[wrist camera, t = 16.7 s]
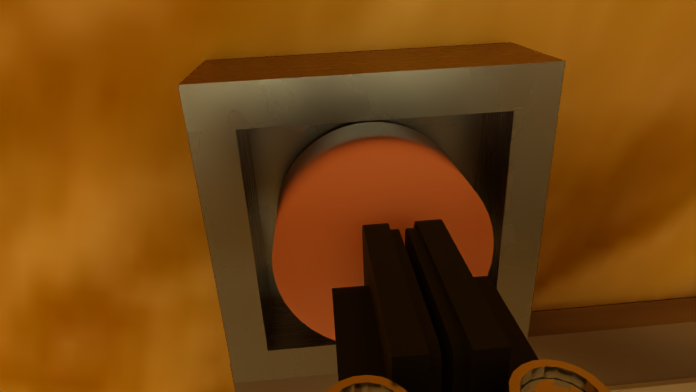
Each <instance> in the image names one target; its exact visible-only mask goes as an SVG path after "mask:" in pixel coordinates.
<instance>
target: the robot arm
mask: <svg viewBox="0 0 696 392" xmlns="http://www.w3.org/2000/svg"><path fill="white" fill-rule="evenodd" d="M362 241H363V267H364V286H353V287H340V288H332V297H333V311H334V326H335V340H336V354H337V368H338V383H336V384H335V385H333V386H332V387H330V388H329V389H328V390H327V391H326V392H611V391H610V390H609V389H608V388H607V387H606V386H605V385H604V384H603V383H602V382H601V381H599V380H598V379H597V378H596V377H595V376H594V375H592V374H591V373H589V372H587V371H585V370H583V369H582V368H580V367H578V366H575V365H572V364H569V363H566V362H563V361H557V360H549V359H543V360H539V359H538V357H537V356H536V354H535V352H534V351H533V349H532V347H531V346H530V344H529V342H528V341H527V339H526V337H525V336H524V334H523V332H522V330H521V329H520V327H519V325H518V324H517V322H516V320H515V319H514V317H513V315H512V314H511V312H510V310H509V309H508V307H507V305H506V304H505V302H504V300H503V299H502V297H501V295H500V294H499V292H498V290H497V289H496V287H495V285H494V284H493V282H492V281H491V279H490V278H489V277H487V276H479V277H473V276H472V274H471V272H470V270H469V268H468V266H467V265H466V263H465V261H464V259H463V257H462V255H461V254H460V252H459V250H458V248H457V246H456V244H455V243H454V241H453V239H452V237H451V235H450V233H449V232H448V230H447V228H446V226H445V224H444V222H443V221H442V219H436V220H422V221H415V223H414V228H406V230H405V245H404V242H403V239H402V236H401V234H400V231H399V229H391V230H390V227H389V224H388V223H382V224H368V225H362Z"/></svg>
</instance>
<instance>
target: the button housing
mask: <svg viewBox="0 0 696 392" xmlns="http://www.w3.org/2000/svg"><path fill="white" fill-rule="evenodd" d="M564 67H565V61H563V60H561V59H558V58H555V57H552V56H549V55H546V54H543V53H540V52H537V51H534V50H531V49H528V48H525V47H522V46H520V45H517V44H514V43H494V44H477V45H460V46H443V47H426V48H409V49H392V50H375V51H358V52H341V53H324V54H308V55H291V56H274V57H257V58H240V59H223V60H206V61H204V62H203V63H202V64H201V65H200V66H199V67H198V68H196V69H195V70H194V71H193V72H192V73H191V74H190V75H189V76H188V77H186V78H185V79H184V80H183V81H182V82H181V83H180V84H179V85H178V87H179V92H180V98H181V103H182V108H183V113H184V119H185V124H186V129H187V135H188V140H189V145H190V150H191V156H192V161H193V166H194V172H195V177H196V182H197V187H198V193H199V198H200V203H201V209H202V214H203V219H204V224H205V230H206V235H207V240H208V246H209V251H210V256H211V261H212V267H213V272H214V277H215V282H216V288H217V293H218V298H219V304H220V309H221V314H222V319H223V325H224V330H225V335H226V341H227V346H228V351H229V356H230V362H231V367H232V372H233V378H234V383H241V382H252V381H262V380H273V379H283V378H294V377H305V376H315V375H326V374H336V373H338V368H337V354H336V341H335V340H332V339H330V338H327V337H325V336H323V335H321V334H319V333H317V332H316V331H314V330H312V329H311V328H309V327H308V326H307V325H305V324H304V323H303V322H301V321H300V320H299V319H298V318H297V317H296V316H295V315H294V314H293V313H292V311H291V310H290V309H289V307H288V306H287V305H286V303H285V302H284V300H283V298H282V296H281V295H280V293H279V290H278V287H277V285H276V282H275V278H274V273H273V267H272V251H273V241H274V233H275V224H276V215H277V206H278V198H279V193H280V190H281V186H282V183H283V181H284V178H285V176H286V174H287V172H288V171H289V169H290V167H291V166H292V164H293V163H294V162H295V160H296V159H297V158H298V156H299V155H300V154H301V153H302V152H303V151H304V150H305V149H306V148H307V147H308V146H310V145H311V144H312V143H314V142H315V141H316V140H318V139H319V138H321V137H323V136H324V135H326V134H328V133H330V132H332V131H334V130H337V129H339V128H342V127H345V126H349V125H353V124H357V123H365V122H386V123H393V124H398V125H402V126H405V127H408V128H411V129H413V130H416V131H418V132H420V133H421V134H423V135H425V136H427V137H428V138H430V139H431V140H432V141H433V142H435V143H436V144H437V145H438V146H439V147H440V148H441V149H442V150H443V151H444V152H445V153H446V154H447V156H448V157H449V158H450V159H451V161H452V162H453V163H454V165H455V166H456V167H457V168H458V170H459V171H460V172H461V174H462V175H463V176H464V177H465V179H466V180H467V181H468V183H469V184H470V185H471V186H472V188H473V189H474V190H475V192H476V193H477V194H478V196H479V197H480V199H481V200H482V202H483V204H484V206H485V208H486V210H487V212H488V214H489V218H490V221H491V224H492V230H493V237H494V248H493V256H492V263H491V266H490V269H489V272H488V275H487V277H489V278H490V279H491V281H492V282H493V284H494V285H495V287H496V289H497V290H498V292H499V294H500V295H501V297H502V299H503V300H504V302H505V304H506V305H507V307H508V309H509V310H510V312H511V314H512V315H513V317H514V319H515V320H516V322H517V324H518V325H519V327H520V329H521V330H522V332H523V334H524V336H525V337H526V339H527V338H528V331H529V323H530V316H531V309H532V301H533V294H534V287H535V279H536V272H537V265H538V257H539V250H540V243H541V235H542V228H543V221H544V213H545V206H546V199H547V191H548V184H549V177H550V170H551V162H552V155H553V148H554V140H555V133H556V126H557V118H558V111H559V104H560V96H561V89H562V82H563V74H564Z"/></svg>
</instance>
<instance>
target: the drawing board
mask: <svg viewBox="0 0 696 392" xmlns="http://www.w3.org/2000/svg"><path fill="white" fill-rule="evenodd" d="M527 341H528V342H529V344H530V346H531V347H532V349H533V351H534V352H535V354H536V356H537V357H538V359H539V360H543V359H549V360H557V361H563V362H566V363H569V364H572V365H575V366H578V367H580V368H582V369H583V370H585V371H587V372H589V373H591V374H592V375H594V376H595V377H596V378H597V379H598V380H599V381H601V382H602V383H603V384H604V385H605V386H606V387H607V388H608V389H609V390H610V391H611V392H696V297H693V298H681V299H670V300H659V301H648V302H637V303H626V304H615V305H603V306H592V307H581V308H570V309H559V310H548V311H537V312H531V316H530V323H529V331H528V338H527ZM230 365H231V364H230ZM231 371H232V367H231ZM232 376H233V372H232ZM233 381H234V378H233ZM336 383H338V373H336V374H326V375H315V376H305V377H294V378H283V379H273V380H262V381H252V382H241V383H234V387H235V392H326V391H327V390H328V389H329V388H330V387H332V386H333V385H335V384H336Z"/></svg>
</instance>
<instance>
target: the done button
mask: <svg viewBox="0 0 696 392" xmlns="http://www.w3.org/2000/svg"><path fill="white" fill-rule="evenodd" d="M436 219H442V221H443V222H444V224H445V226H446V228H447V230H448V232H449V233H450V235H451V237H452V239H453V241H454V243H455V244H456V246H457V248H458V250H459V252H460V254H461V255H462V257H463V259H464V261H465V263H466V265H467V266H468V268H469V270H470V272H471V274H472V276H473V277H479V276H487V275H488V272H489V269H490V266H491V263H492V256H493V248H494V237H493V230H492V224H491V221H490V218H489V214H488V212H487V210H486V208H485V206H484V204H483V202H482V200H481V199H480V197H479V196H478V194H477V193H476V192H475V190H474V189H473V188H472V186H471V185H470V184H469V183H468V181H467V180H466V179H465V177H464V176H463V175H462V174H461V172H460V171H459V170H458V168H457V167H456V166H455V165H454V163H453V162H452V161H451V159H450V158H449V157H448V156H447V154H446V153H445V152H444V151H443V150H442V149H441V148H440V147H439V146H438V145H437V144H436V143H435V142H433V141H432V140H431V139H430V138H428V137H427V136H425V135H423V134H421V133H420V132H418V131H416V130H413V129H411V128H408V127H405V126H402V125H398V124H393V123H386V122H365V123H357V124H353V125H349V126H345V127H342V128H339V129H337V130H334V131H332V132H330V133H328V134H326V135H324V136H323V137H321V138H319V139H318V140H316V141H315V142H314V143H312V144H311V145H310V146H308V147H307V148H306V149H305V150H304V151H303V152H302V153H301V154H300V155H299V156H298V158H297V159H296V160H295V162H294V163H293V164H292V166H291V167H290V169H289V171H288V172H287V174H286V176H285V178H284V181H283V183H282V186H281V190H280V193H279V198H278V206H277V215H276V224H275V233H274V241H273V251H272V267H273V273H274V278H275V282H276V285H277V287H278V290H279V293H280V295H281V296H282V298H283V300H284V302H285V303H286V305H287V306H288V307H289V309H290V310H291V311H292V313H293V314H294V315H295V316H296V317H297V318H298V319H299V320H300V321H301V322H303V323H304V324H305V325H307V326H308V327H309V328H311V329H312V330H314V331H316V332H317V333H319V334H321V335H323V336H325V337H327V338H330V339H332V340H335V326H334V311H333V297H332V288H340V287H353V286H364V267H363V241H362V225H368V224H382V223H388V224H389V227H390V230H391V229H399V231H400V234H401V236H402V239H403V242H404V245H405V230H406V228H414V223H415V221H422V220H436ZM335 341H336V340H335Z"/></svg>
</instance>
